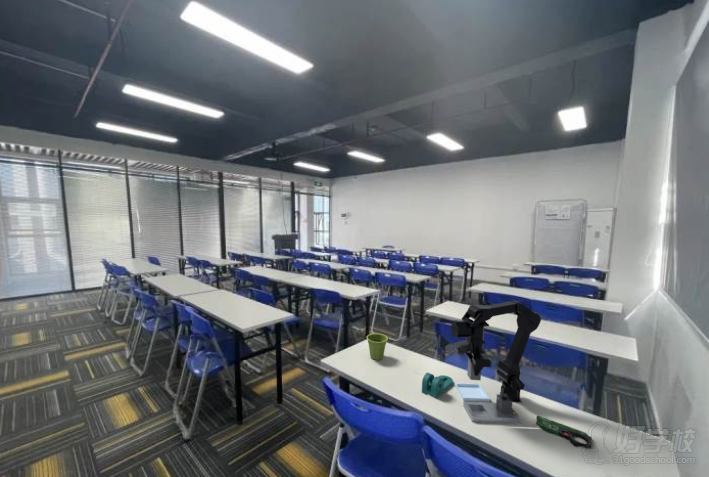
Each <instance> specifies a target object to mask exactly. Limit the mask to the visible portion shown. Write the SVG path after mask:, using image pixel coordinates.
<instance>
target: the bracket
mask: <svg viewBox="0 0 709 477" xmlns="http://www.w3.org/2000/svg"><path fill="white" fill-rule="evenodd" d="M453 384H454V379H453V378H452V377H450V376H448V375H441V374H440V375H438V376H435V375H434V374H433V373H430V372H426V373H425V374H424V375H423V378H422V382H421V393H422V394H424V395H425V396H429V397H431V398H433V399H437V398H438V397H439V396H441V395H443V393H444V392H446V391H447V390H448V389H449V388H451V387H452V386H453Z"/></svg>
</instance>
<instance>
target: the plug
mask: <svg viewBox="0 0 709 477" xmlns="http://www.w3.org/2000/svg"><path fill="white" fill-rule="evenodd" d="M466 373H467V376H468V378H469V380H470V381H481V380H482V371H481V372H480V373H479V375H478V376H475V374H474V364H473V363H472V362H471V360H470V359H469V358H468V359H467V372H466Z"/></svg>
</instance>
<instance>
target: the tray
mask: <svg viewBox="0 0 709 477" xmlns="http://www.w3.org/2000/svg"><path fill="white" fill-rule="evenodd" d="M453 384H454V387H455V389H456V391H457V393H458V394H459V396H460V398H461V400H462V401H463V402H487V403H491V397H490V396H489V395H488V394H487V393H486V391H485V390H484V388H483V387H482V386H481V384H480V383H467V382H454V383H453Z"/></svg>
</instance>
